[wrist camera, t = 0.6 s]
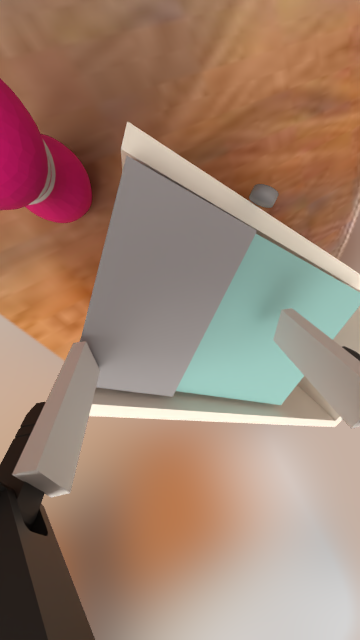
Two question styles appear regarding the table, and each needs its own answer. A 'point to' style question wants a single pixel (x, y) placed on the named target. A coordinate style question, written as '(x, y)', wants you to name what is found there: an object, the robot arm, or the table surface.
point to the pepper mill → (38, 167)
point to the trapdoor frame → (356, 333)
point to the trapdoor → (198, 298)
